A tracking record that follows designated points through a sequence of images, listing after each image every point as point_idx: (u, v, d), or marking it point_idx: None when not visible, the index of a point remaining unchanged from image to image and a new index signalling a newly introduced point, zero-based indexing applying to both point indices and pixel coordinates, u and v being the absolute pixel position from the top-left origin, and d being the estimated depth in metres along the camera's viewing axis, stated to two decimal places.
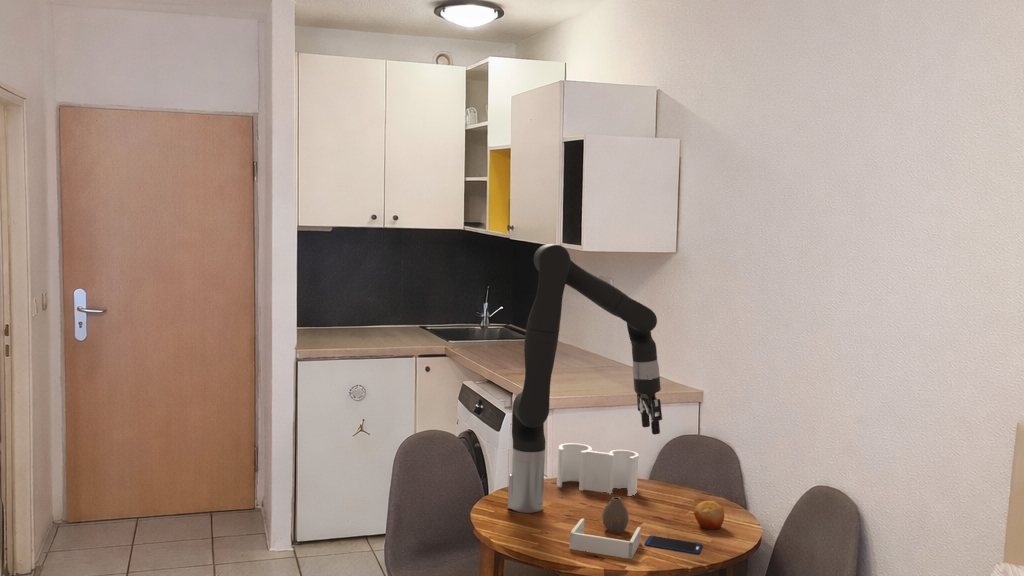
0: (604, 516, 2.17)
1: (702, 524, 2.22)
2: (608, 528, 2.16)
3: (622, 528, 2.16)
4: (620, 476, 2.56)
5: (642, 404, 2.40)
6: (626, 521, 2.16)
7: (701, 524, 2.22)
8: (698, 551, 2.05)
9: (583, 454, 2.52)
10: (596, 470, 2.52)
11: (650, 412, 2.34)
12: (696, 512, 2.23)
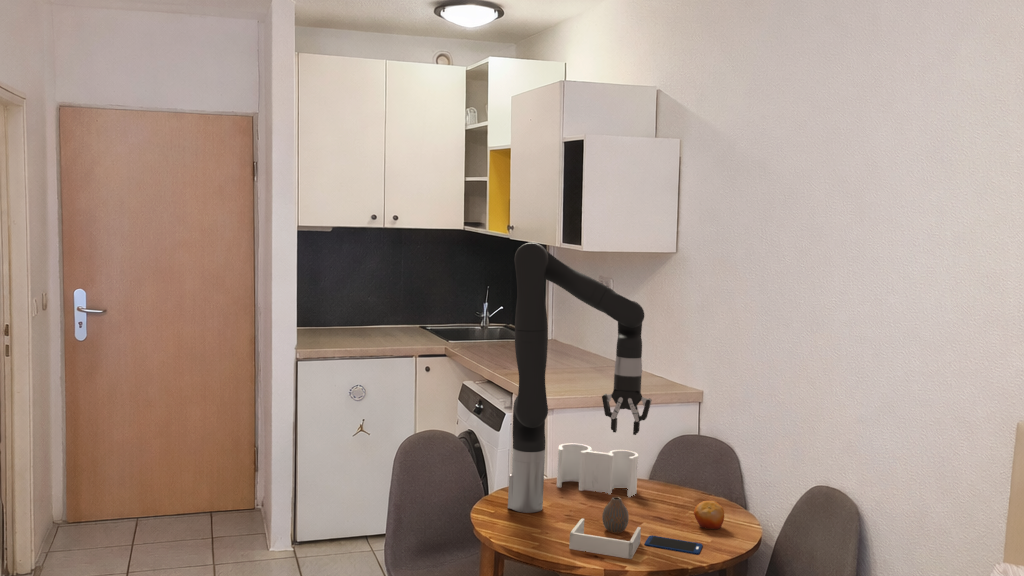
0: (604, 516, 2.17)
1: (702, 524, 2.22)
2: (608, 528, 2.16)
3: (622, 528, 2.16)
4: (620, 476, 2.56)
5: (621, 404, 2.28)
6: (626, 521, 2.16)
7: (701, 524, 2.22)
8: (698, 551, 2.05)
9: (583, 454, 2.52)
10: (596, 470, 2.52)
11: (636, 412, 2.28)
12: (696, 512, 2.23)
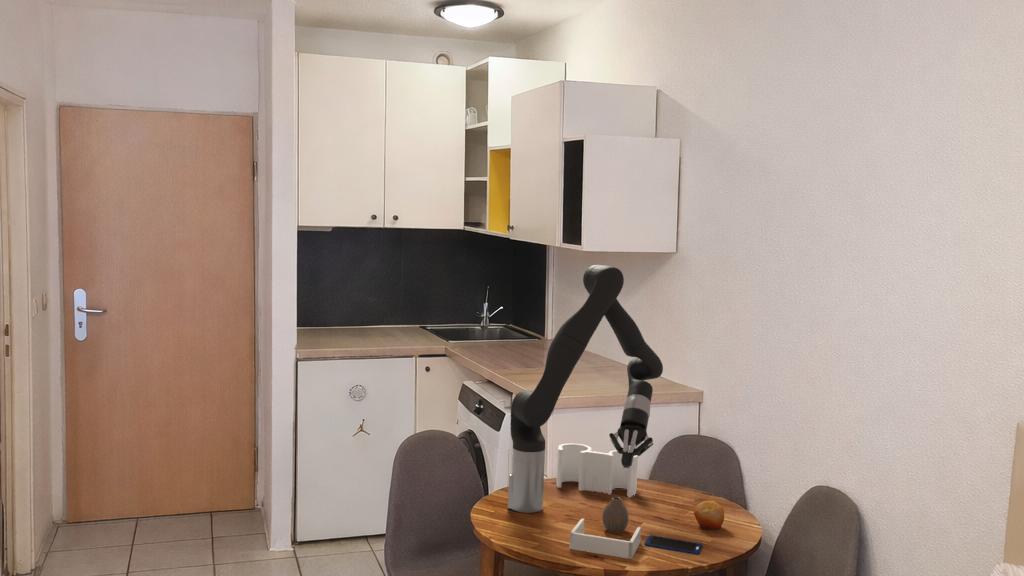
0: (604, 516, 2.17)
1: (702, 524, 2.22)
2: (608, 528, 2.16)
3: (622, 528, 2.16)
4: (620, 476, 2.56)
5: (628, 436, 2.33)
6: (626, 521, 2.16)
7: (701, 524, 2.22)
8: (698, 551, 2.05)
9: (582, 454, 2.52)
10: (595, 470, 2.52)
11: (634, 445, 2.31)
12: (696, 512, 2.23)
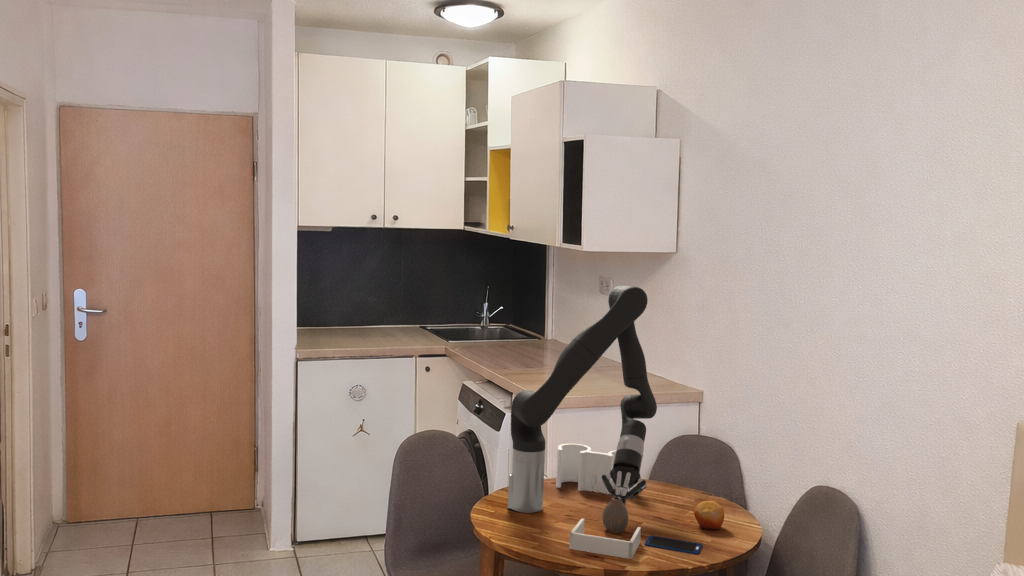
0: (604, 516, 2.17)
1: (702, 524, 2.22)
2: (608, 528, 2.16)
3: (622, 528, 2.16)
4: None
5: (621, 478, 2.27)
6: (626, 521, 2.16)
7: (701, 524, 2.22)
8: (698, 551, 2.05)
9: (582, 454, 2.51)
10: (595, 470, 2.52)
11: (627, 488, 2.25)
12: (696, 512, 2.23)
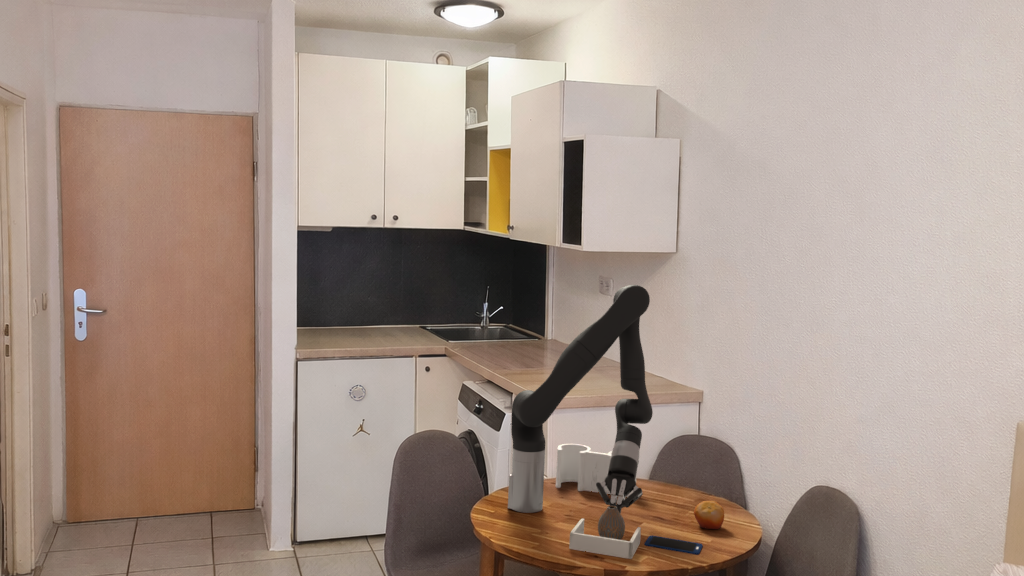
0: (600, 526, 2.09)
1: (702, 524, 2.22)
2: None
3: (619, 538, 2.09)
4: None
5: (616, 486, 2.19)
6: (623, 531, 2.09)
7: (701, 524, 2.22)
8: (698, 551, 2.05)
9: (582, 455, 2.51)
10: (595, 471, 2.52)
11: (623, 496, 2.17)
12: (696, 512, 2.23)
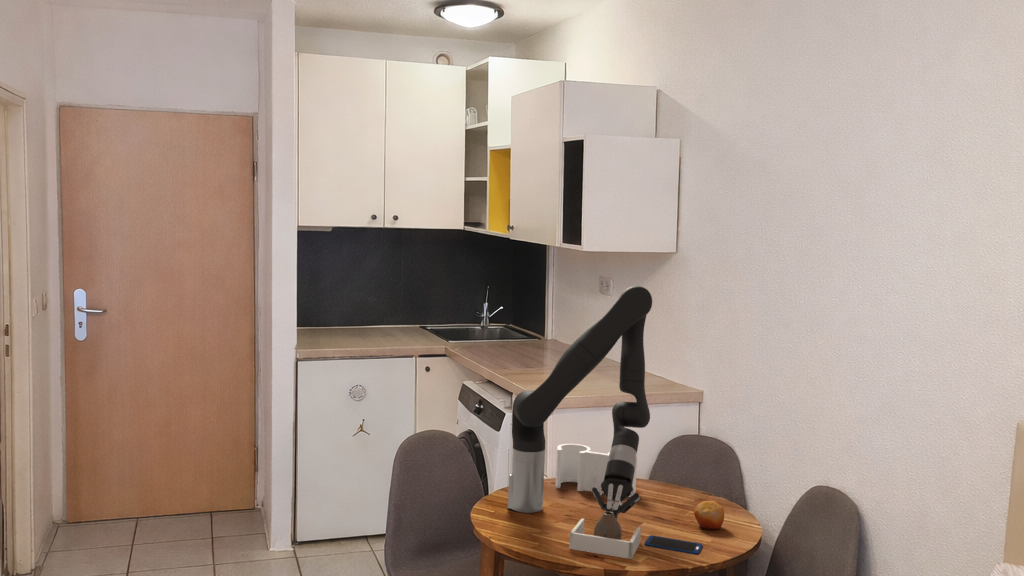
0: (596, 532, 2.05)
1: (702, 524, 2.22)
2: None
3: None
4: None
5: (613, 491, 2.15)
6: (619, 537, 2.04)
7: (701, 524, 2.22)
8: (698, 551, 2.05)
9: (581, 455, 2.51)
10: (594, 471, 2.52)
11: (619, 501, 2.13)
12: (696, 512, 2.23)
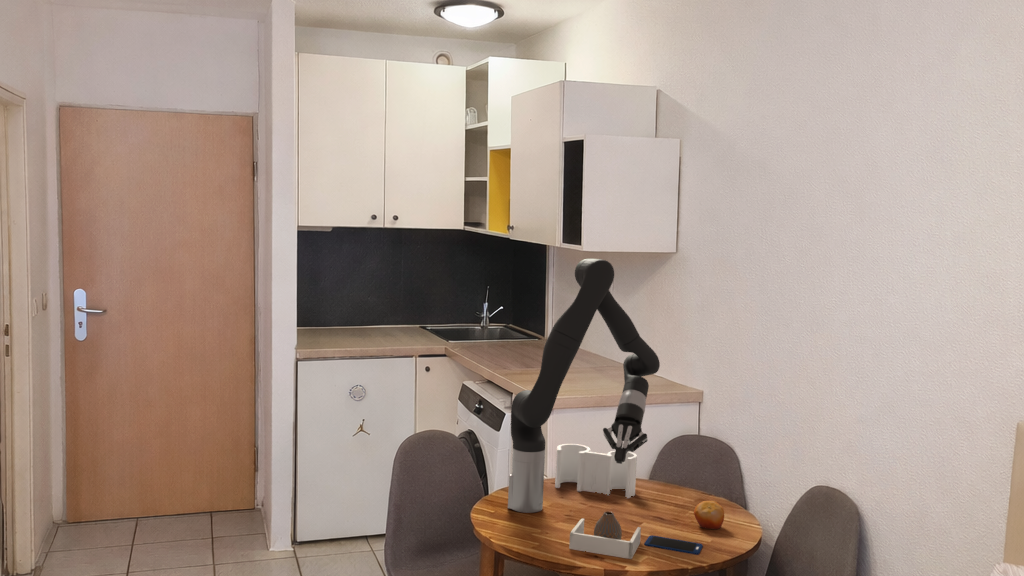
0: (596, 532, 2.05)
1: (702, 524, 2.22)
2: None
3: None
4: (619, 477, 2.55)
5: (622, 431, 2.27)
6: (619, 537, 2.04)
7: (701, 524, 2.22)
8: (698, 551, 2.05)
9: (581, 455, 2.51)
10: (594, 471, 2.51)
11: (628, 441, 2.25)
12: (696, 512, 2.23)
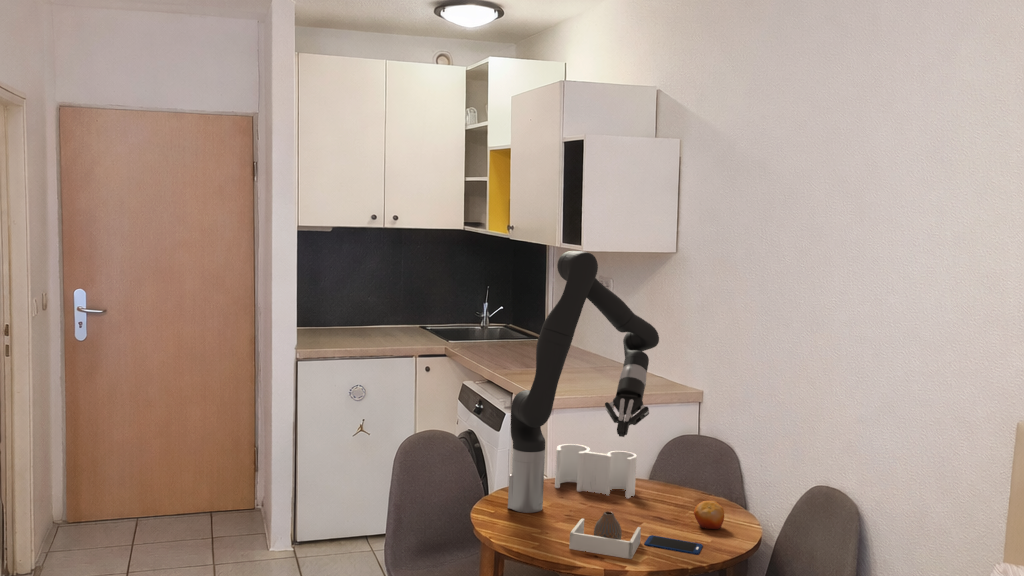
0: (596, 532, 2.05)
1: (702, 524, 2.22)
2: None
3: None
4: (618, 477, 2.55)
5: (624, 405, 2.30)
6: (619, 537, 2.04)
7: (701, 524, 2.22)
8: (698, 551, 2.05)
9: (581, 455, 2.51)
10: (594, 471, 2.51)
11: (630, 414, 2.28)
12: (696, 512, 2.23)
